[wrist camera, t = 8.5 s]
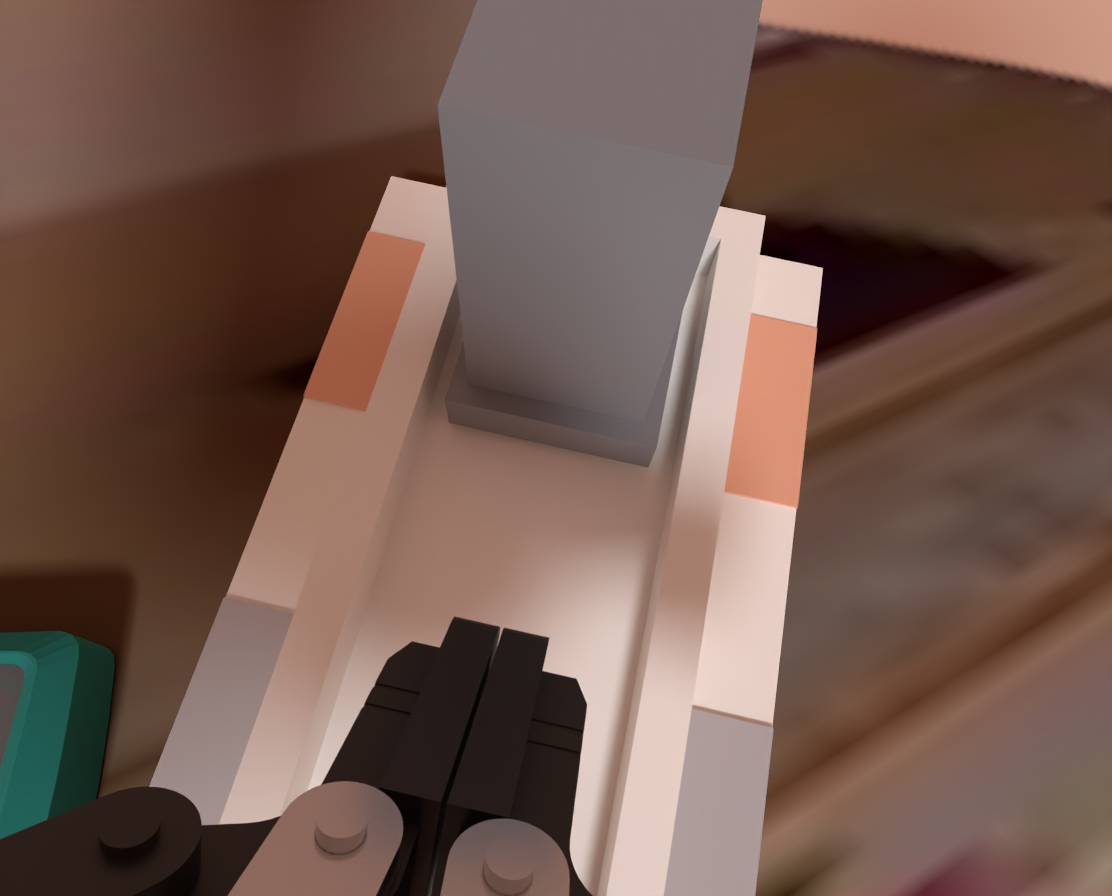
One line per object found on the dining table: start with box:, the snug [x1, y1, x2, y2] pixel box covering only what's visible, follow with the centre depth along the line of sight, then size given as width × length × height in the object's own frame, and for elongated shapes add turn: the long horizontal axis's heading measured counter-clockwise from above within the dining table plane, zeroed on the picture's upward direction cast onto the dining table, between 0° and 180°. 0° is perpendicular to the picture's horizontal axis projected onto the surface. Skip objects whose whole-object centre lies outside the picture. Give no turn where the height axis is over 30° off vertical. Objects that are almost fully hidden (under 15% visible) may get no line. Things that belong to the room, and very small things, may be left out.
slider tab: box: [437, 0, 762, 468], centre depth 16 cm, size 5×5×9 cm
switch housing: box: [149, 176, 823, 896], centre depth 18 cm, size 12×19×4 cm, turn 167°
